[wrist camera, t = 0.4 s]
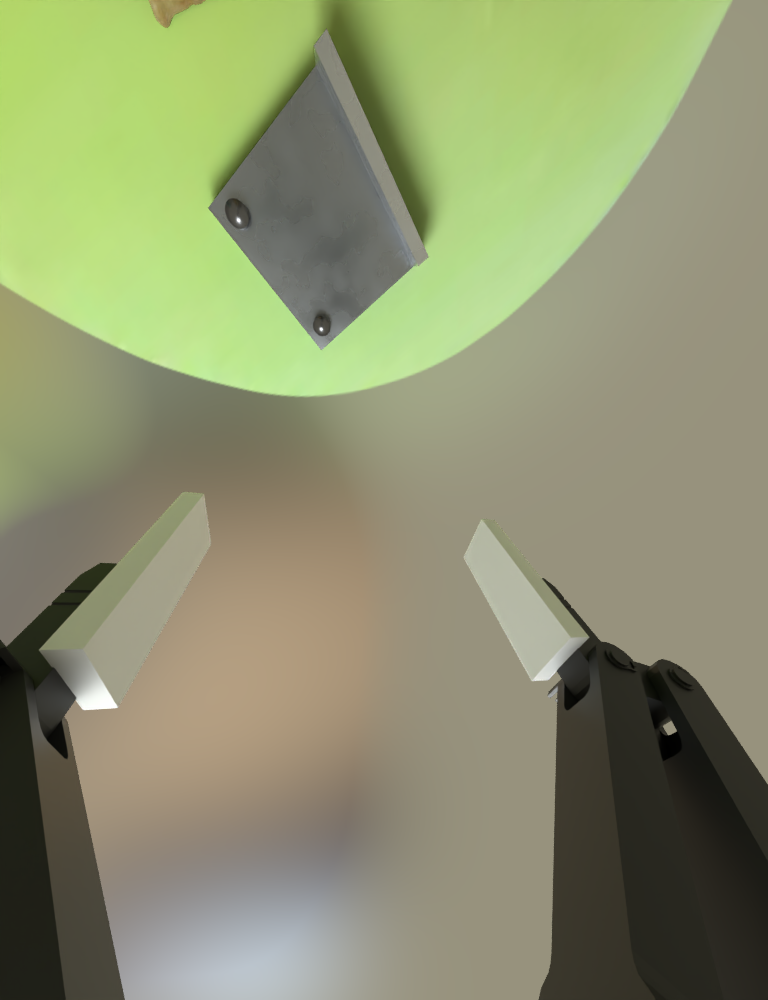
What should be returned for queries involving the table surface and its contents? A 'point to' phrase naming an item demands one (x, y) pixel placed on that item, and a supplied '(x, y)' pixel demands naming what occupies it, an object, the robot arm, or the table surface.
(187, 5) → the rock
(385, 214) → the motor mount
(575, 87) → the table surface
